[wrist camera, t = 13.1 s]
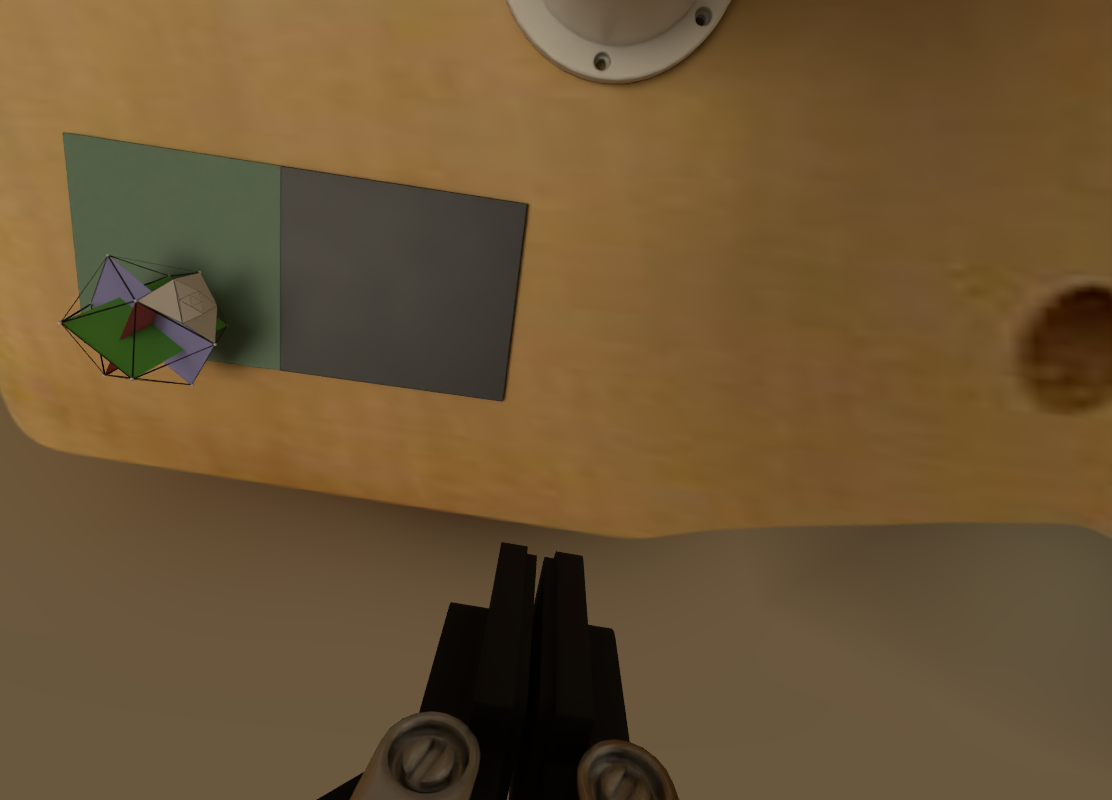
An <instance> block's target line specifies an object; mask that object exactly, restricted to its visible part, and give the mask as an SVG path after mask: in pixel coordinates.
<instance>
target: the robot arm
mask: <svg viewBox="0 0 1112 800" xmlns="http://www.w3.org/2000/svg"><path fill="white" fill-rule="evenodd" d="M506 1H507V3H508V6H509V8H510V11H511V13H512V16H513V18H514V19H515V21H516V22H517V24H518V25H519V27H520V29H521V30H522V32H523V33H524V35H525V36H526V38H527V39H528V40H529V41H530V42H531V43H532V44H533V46H534V47H535V48H536V49H537V50H538V51H539V52H540V53H541V54H542V55H543V56H544V57H545V58H547V59H548V60H549V61H551V62H552V63H554V64H555V65H556V66H558V67H559V68H560V69H562V70H564V71H566V72H568V73H571V74H573V75H575V76H577V77H579V78H582V79H586V80H590V81H595V82H599V83H609V84H626V83H631V82H636V81H640V80H645V79H649V78H651V77H653V76H656V75H658V74H660V73H663V72H665V71H667V70H669V69H671V68H672V67H674V66H675V65H677V64H678V63H679V62H681V61H682V60H684V59H685V58H687V57H688V56H689V55H690V54H691V53H692V52H693V51H694V50H695V49H696V48H697V47H698V46H699V45H700V44H701V43H702V42H703V41H704V40H705V39H706V38H707V37H708V36H709V34H710V33H711V32H712V30H713V29H714V28H715V27H716V25H717V24H718V22H719V21H720V19H721V17H722V15H723V14H724V12H725V10H726V8H727V7H728V5H729V3H730V2H731V0H506ZM697 17H700V18H702V19H703V21H704V24H703V26H699V25H697V23H696V18H697ZM599 61H603V62H604V63H605V64H606V68H605V69H604V70H599V69H598V68H597V66H596V64H597V63H598V62H599ZM527 549H528V547H527V546H521V545H515V544H510V543H504V542H502V543H501V548H500V553H499V558H498V564H497V569H496V575H495V580H494V586H493V590H492V596H491V601H490V607H489V608H483V607H477V606H471V605H465V604H458V603H452V602H451V603H450V606H449V609H448V612H447V616H446V619H445V623H444V626H443V630H442V633H441V637H440V641H439V644H438V648H437V651H436V655H435V659H434V662H433V666H432V669H431V673H430V676H429V680H428V683H427V687H426V690H425V694H424V697H423V701H422V704H421V708H420V712H419V713H416V714H413V715H410V716H408V717H405V718H403V719H401V720H400V721H399V722H397V723H396V724H395V725H393V726H392V727H391V728H390V729H389V730H388V731H387V733H386V734H385V735H384V737H383V738H382V739H381V741H380V743H379V745H378V747H377V748H376V750H375V752H374V754H373V756H372V758H371V760H370V762H369V764H368V766H367V768H366V769H365V771H364V772H363V773H361V774H360V775H358V776H356V777H354V778H353V779H351V780H349V781H348V782H346V783H344V784H343V785H341V786H339V787H338V788H336V789H334V790H333V791H331V792H329V793H327V794H326V795H324V796H322V797H321V798H319V799H317V800H507V796H508V792H509V800H679V798H678V795H677V792H676V790H675V787H674V784H673V782H672V780H671V778H670V776H669V774H668V772H667V770H666V769H665V768H664V766H663V765H662V764H661V763H660V762H659V760H658V759H657V758H656V757H655V756H653V755H652V754H651V753H649V752H648V751H647V750H645V749H644V748H642V747H640V746H638V745H636V744H633V743H631V742H630V741H629V734H628V727H627V720H626V712H625V705H624V698H623V690H622V683H621V676H620V668H619V661H618V654H617V646H616V639H615V634H614V631H613V630H612V629H610V628H604V627H598V626H592V625H588V618H587V605H586V591H585V578H584V565H583V556H580V555H574V554H568V553H562V552H557V551H556V553H555V556H554V558H549V557H545V558H544V561H543V565H542V570H541V575H540V579H539V584H538V589H537V593H536V598H535V603H534V593H535V577H536V561H537V556H536V555H531V554H527ZM509 788H510V789H509Z"/></svg>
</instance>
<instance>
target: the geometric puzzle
mask: <svg viewBox="0 0 1112 800" xmlns="http://www.w3.org/2000/svg"><path fill="white" fill-rule="evenodd" d="M106 256H107V257H106V258H105V260H106V261H105V260H104V261H105V264H104V266H103V269H102V272H101V275H100V278H99V281H98V284H97V286H96V289H95V292H94V295H93V298H92V301H91V302H90V303H89V305H87V306H85V307H84V308H82V309H81V310H79V311H77V312H76V313H74V314H72V315H71V316H69V317H67V318H66V319H64V318H65V316H66V315H67V314H66V315H65V316H64V318H63V319H64V320H63V319H62V321H59V322H58V323H59V324H62V325H63V326H65V327H66V328H67V329H69V330H70V331H71V332H72V333H74V334H75V335H76V336H78V337H79V338H80V339H81V340H83V341H84V342H85V343H86V344H88V345H89V346H90V347H92V348H93V349H94V350H95V351H97V352H98V353H99V354H100V357H101V362H102V367H103V372H104V373H103V372H102V373H103V376H106V375H107V376H113V377H120V378H123V376H114V375H108V374H110V373H112V372H113V371H115V370H117V369H119V370H121V371H122V372H123V373H124V374H126V375H127V376H128V377H125V378H126V379H130V380H131V381H133V380H138V379H140V378H138V377H140V376H143V375H145V374H148V373H150V372H152V371H155V370H157V369H159V368H162V367H164V366H169V367H170V368H171V369H172V370H174V371H175V372H176V373H177V374H179V375H180V376H181V377H182V378H183V379H185V380H186V381H187V382H188V383H189V384H185V385H191V386H193V385H194V384H193V382H194V381H195V379H196V377H197V376H198V374H199V372H200V370H201V369H202V367H203V365H204V364H205V362H206V360H207V359H208V357H209V355H210V354H211V352H212V350H213V349H214V347H215V346H216V345H217V344H216V343H217V342H218V340H219V338H220V337H221V335H222V333H223V332H224V330H225V328H226V327H227V326H228V324H227V323H225V322H226V321H225V322H224V321H223V320H221V319H220V318H219V317H218V316H217V309H218V305H217V303H216V301H215V299H214V297H213V295H212V294H211V292H210V290H209V288H208V286H207V284H206V282H205V280H204V278H203V276H202V274H201V273H202V272H201V271H198V272H197V271H195V272H194V273H186V274H178V275H166V274H163V273H160V272H157V271H154V270H151V269H148V268H145V267H142V266H140V265H137V264H134V263H131V262H128V261H125V260H122V259H119V258H116V256H114V257H113V256H111V255H110V254H106ZM111 257H113V258H116V259H119V260H122V261H125V262H128V263H131V264H133V265H136V266H139V267H142V268H145V269H148V270H151V271H154V272H157V273H160V274H163V275H166V277H163V278H160V279H158V280H155V281H152V282H149V283H146V284H142V283H141V282H140V281H138V280H137V279H136V278H135V277H134V276H132V275H131V274H130V273H129V272H128V271H126V270H125V269H124V268H123V267H122V266H120V265H119V264H118V263H117V262H116V261H114V260H113V259H112V258H111ZM120 258H121V257H120ZM125 259H127V258H125ZM130 260H132V259H130ZM104 261H103V262H104ZM136 261H138V260H136ZM141 262H143V261H141ZM147 263H148V262H147ZM102 264H103V263H102ZM102 264H101V265H102ZM152 264H154V263H152ZM101 265H100V267H101ZM157 265H159V264H157ZM163 266H164V265H163ZM100 267H99V268H100ZM168 267H170V266H168ZM99 268H98V269H99ZM173 268H175V267H173ZM179 269H181V268H179ZM184 270H186V269H184ZM97 271H98V270H97ZM97 271H96V272H97ZM190 271H191V270H190ZM96 272H95V274H96ZM95 274H94V275H95ZM188 274H190V275H188ZM94 275H93V277H94ZM179 275H186V276H182V277H178V278H172V277H171V276H179ZM93 277H92V278H93ZM92 278H91V279H92ZM90 281H91V280H90ZM90 281H89V282H90ZM89 282H88V284H89ZM88 284H87V285H88ZM87 285H86V287H87ZM146 285H147V286H146ZM86 287H85V288H86ZM85 288H84V289H85ZM83 291H84V290H83ZM83 291H82V292H83ZM82 292H81V294H82ZM81 294H80V295H81ZM80 295H79V296H80ZM78 298H79V297H78ZM78 298H77V299H78ZM77 299H76V301H77ZM76 301H75V302H76ZM75 302H74V304H75ZM74 304H73V305H74ZM73 305H72V306H73ZM90 305H91V310H88V311H86V312H84V313H81V314H79V315H77V316H74V315H76V314H77V313H79V312H80V311H82V310H84V309H85V308H87V307H89V306H90ZM92 305H93V306H94V307H95V308H92ZM71 308H72V307H71ZM71 308H70V309H71ZM70 309H69V311H70ZM69 311H68V312H69ZM68 312H67V313H68ZM220 312H221V311H220ZM221 314H222V313H221ZM72 316H74V317H72ZM222 316H223V315H222ZM71 317H72V318H71ZM69 318H70V319H69ZM223 318H224V317H223ZM224 320H225V319H224ZM225 326H226V327H225ZM65 327H64V328H65ZM223 327H225V328H224V330H223V332H222V333H221V335H220V337H219V338H218V340H217V342H216V331H218V330H220V329H221V328H223ZM66 328H65V329H66ZM67 329H66V330H67ZM67 331H68V330H67ZM68 332H69V331H68ZM69 334H70V333H69ZM70 335H71V334H70ZM71 336H72V335H71ZM72 337H73V336H72ZM73 338H74V337H73ZM74 339H75V338H74ZM75 341H76V340H75ZM76 342H77V341H76ZM77 343H78V342H77ZM78 344H79V343H78ZM79 345H80V344H79ZM80 347H81V346H80ZM81 348H82V347H81ZM82 349H83V348H82ZM83 350H84V349H83ZM84 351H85V350H84ZM85 353H86V352H85ZM86 354H87V353H86ZM87 355H88V354H87ZM88 356H89V355H88ZM102 356H103V357H104V358H105V359H107V360H108V361H109V362H110V364H109V366H108V368H107V371H106V373H105V370H104V365H103V360H102ZM89 357H90V356H89ZM90 358H91V357H90ZM91 360H92V359H91ZM92 361H93V360H92ZM93 362H94V361H93ZM162 362H164V363H165V364H166V365H164V366H161V367H159V368H156V369H154V370H152V371H149V372H147V373H145V372H146V371H148V370H150V369H152V368H153V367H155V366H157V365H159V364H160V363H162ZM94 363H95V362H94ZM95 364H96V363H95ZM96 366H97V365H96ZM97 367H98V366H97ZM98 368H99V367H98ZM99 369H100V368H99ZM100 370H101V369H100ZM101 371H102V370H101ZM143 373H145V374H143ZM141 374H142V375H141ZM139 375H140V376H139ZM142 380H143V381H148V380H149V379H142ZM151 381H153V382H158V380H151ZM160 382H164V383H174V384H184V383H175V382H166V381H160Z"/></svg>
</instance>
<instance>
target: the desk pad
mask: <svg viewBox="0 0 1112 800" xmlns="http://www.w3.org/2000/svg"><path fill="white" fill-rule="evenodd" d="M63 141H64V150H65V160H66V170H67V180H68V190H69V199H70V209H71V219H72V229H73V239H74V248H75V258H76V268H77V278H78V288H79V295H80V294H81V292H82V291H83V290H84V291H83V292H82V294H81V295H80V296H79V297H80V307H81V309H82V308H84V307H85V306H87V305H89V303H90V302H91V301H92V298H93V295H94V292H95V289H96V286H97V284H98V281H99V278H100V275H101V272H102V269H103V266H104V264H105V261H106V260H105V258H106V257H107V256H106V254H110V255H111V256H113V257H114V256H116V258H119V259H122V260H125V261H128V262H131V263H134V264H137V265H140V266H142V267H145V268H148V269H151V270H154V271H157V272H160V273H163V274H166V275H178V274H186V273H194V272H195V271H197V272H198V271H201V272H202V273H201V274H202V276H203V278H204V280H205V282H206V284H207V286H208V288H209V290H210V292H211V294H212V295H213V297H214V299H215V301H216V303H217V305H218V309H217V316H218V317H219V318H220V319H221V320H223V321H224V322H225V321H226V322H225V323H227V324H228V326H227V327H226V326H225V327H226V328H225V327H223V328H221V329H220V330H218V331H216V342H217V340H218V338H219V337H220V335H221V333H222V332H223V330H224V328H225V330H224V332H223V333H222V335H221V337H220V338H219V340H218V342H217V343H216V344H217V345H216V346H215V347H214V349H213V350H212V352H211V354H210V355H209V357H208V359H207V360H210V361H217V362H224V363H231V364H238V365H245V366H252V367H260V368H267V369H274V370H281V371H288V372H295V373H303V374H310V375H317V376H324V377H331V378H338V379H345V380H353V381H360V382H367V383H374V384H381V385H388V386H396V387H403V388H410V389H417V390H424V391H431V392H438V393H446V394H453V395H460V396H467V397H474V398H481V399H489V400H496V401H503V397H504V389H505V381H506V373H507V365H508V357H509V349H510V341H511V333H512V325H513V317H514V309H515V301H516V293H517V285H518V277H519V269H520V261H521V252H522V244H523V236H524V228H525V220H526V212H527V204H524V203H518V202H511V201H505V200H498V199H492V198H485V197H479V196H472V195H466V194H459V193H453V192H446V191H440V190H433V189H427V188H420V187H414V186H408V185H401V184H395V183H388V182H382V181H375V180H369V179H362V178H356V177H349V176H343V175H336V174H330V173H323V172H317V171H310V170H304V169H297V168H291V167H284V166H278V165H271V164H265V163H258V162H252V161H245V160H239V159H233V158H226V157H220V156H213V155H207V154H200V153H194V152H187V151H181V150H174V149H168V148H161V147H155V146H148V145H142V144H135V143H129V142H122V141H116V140H109V139H103V138H96V137H90V136H83V135H77V134H71V133H64V132H63ZM113 257H111V258H112V259H113V260H114V261H116V262H117V263H118V264H119V265H120V266H122V267H123V268H124V269H125V270H126V271H128V272H129V273H130V274H131V275H132V276H134V277H135V278H136V279H137V280H138V281H140V282H141V283H142V284H146V283H149V282H152V281H155V280H158V279H160V278H163V277H166V275H163V274H160V273H157V272H154V271H151V270H148V269H145V268H142V267H139V266H136V265H133V264H131V263H128V262H125V261H122V260H119V259H116V258H113ZM120 257H121V258H120ZM125 258H127V259H125ZM130 259H132V260H130ZM104 260H105V261H104ZM136 260H138V261H136ZM103 261H104V262H103ZM141 261H143V262H141ZM147 262H148V263H147ZM102 263H103V264H102ZM152 263H154V264H152ZM101 264H102V265H101ZM157 264H159V265H157ZM100 265H101V267H100ZM163 265H164V266H163ZM168 266H170V267H168ZM99 267H100V268H99ZM173 267H175V268H173ZM98 268H99V269H98ZM179 268H181V269H179ZM184 269H186V270H184ZM97 270H98V271H97ZM190 270H191V271H190ZM96 271H97V272H96ZM95 272H96V274H95ZM94 274H95V275H94ZM93 275H94V277H93ZM188 275H190V274H188ZM182 276H186V275H179V276H171V277H172V278H178V277H182ZM92 277H93V278H92ZM91 278H92V279H91ZM90 280H91V281H90ZM89 281H90V282H89ZM88 282H89V284H88ZM87 284H88V285H87ZM86 285H87V287H86ZM146 286H147V285H146ZM85 287H86V288H85ZM84 288H85V289H84ZM92 308H95V307H94V306H93V305H92ZM88 310H91V305H90V306H89V307H87V308H85V309H84V310H82V311H81V313H84V312H86V311H88ZM220 311H221V312H220ZM221 313H222V314H221ZM222 315H223V316H222ZM223 317H224V318H223ZM224 319H225V320H224ZM84 343H85V342H84Z"/></svg>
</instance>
